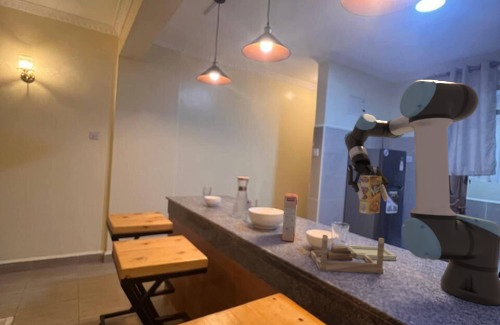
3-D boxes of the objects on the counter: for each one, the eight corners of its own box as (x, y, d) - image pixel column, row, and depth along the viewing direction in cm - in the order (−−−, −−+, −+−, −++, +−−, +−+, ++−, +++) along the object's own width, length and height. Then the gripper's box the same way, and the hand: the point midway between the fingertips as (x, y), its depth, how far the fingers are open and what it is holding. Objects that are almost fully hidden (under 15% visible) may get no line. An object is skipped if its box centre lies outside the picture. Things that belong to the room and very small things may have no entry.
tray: (396, 260, 110) (396, 256, 110) (357, 258, 110) (357, 254, 110) (382, 250, 122) (382, 246, 122) (346, 248, 121) (346, 245, 121)
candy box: (368, 214, 110) (370, 176, 110) (358, 212, 113) (360, 175, 113) (379, 213, 115) (382, 176, 115) (370, 211, 119) (372, 175, 118)
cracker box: (294, 242, 127) (297, 196, 127) (281, 241, 128) (283, 195, 128) (295, 234, 141) (298, 193, 140) (283, 233, 142) (286, 192, 141)
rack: (383, 273, 96) (385, 239, 96) (320, 270, 96) (322, 235, 96) (363, 257, 112) (365, 227, 112) (310, 254, 112) (311, 224, 112)
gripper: (380, 165, 129) (396, 205, 114) (333, 162, 129) (343, 202, 113) (386, 153, 124) (405, 194, 109) (338, 151, 123) (349, 191, 108)
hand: (374, 198), depth 111 cm, fingers closed on candy box, 9 cm apart
